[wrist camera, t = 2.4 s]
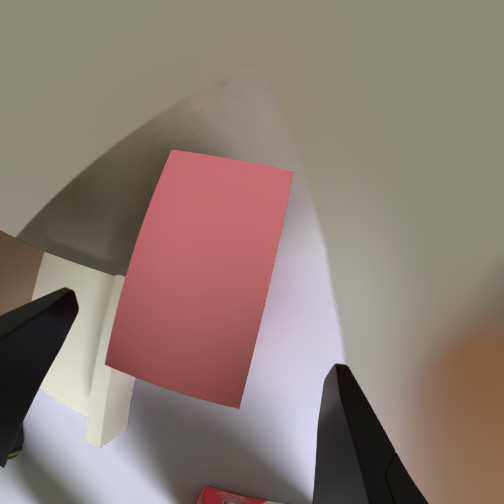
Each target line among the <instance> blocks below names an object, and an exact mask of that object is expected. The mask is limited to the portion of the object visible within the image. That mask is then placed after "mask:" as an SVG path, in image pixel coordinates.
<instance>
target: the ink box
mask: <svg viewBox="0 0 504 504" xmlns="http://www.w3.org/2000/svg"><path fill="white" fill-rule="evenodd" d="M196 504H284V503H277V502H272V501H265V500H260V499H256V498H251V497H246V496H242V495H238V494H234V493H229V492H226V491H223V490H219V489H215V488H212V487H209V486H205V487H204V488H203V489H202V491H201V493H200V495H199V497H198V499H197V501H196Z"/></svg>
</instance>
